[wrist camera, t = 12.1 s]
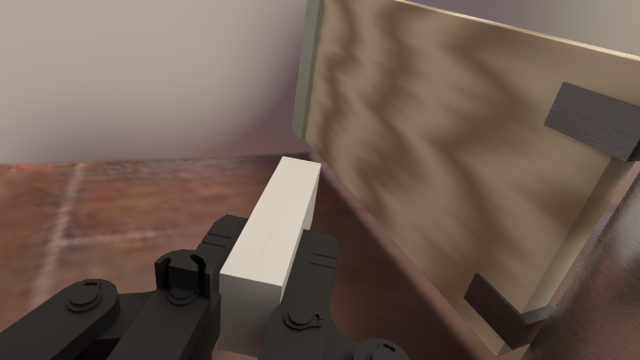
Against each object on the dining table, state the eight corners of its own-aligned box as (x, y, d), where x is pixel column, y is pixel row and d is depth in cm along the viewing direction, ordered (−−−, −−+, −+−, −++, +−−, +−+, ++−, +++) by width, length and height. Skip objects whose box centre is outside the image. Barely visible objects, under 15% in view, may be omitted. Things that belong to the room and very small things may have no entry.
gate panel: (535, 354, 18) (731, 54, 11) (498, 369, 17) (690, 48, 10) (314, 128, 38) (337, -25, 31) (292, 128, 37) (310, -29, 30)
